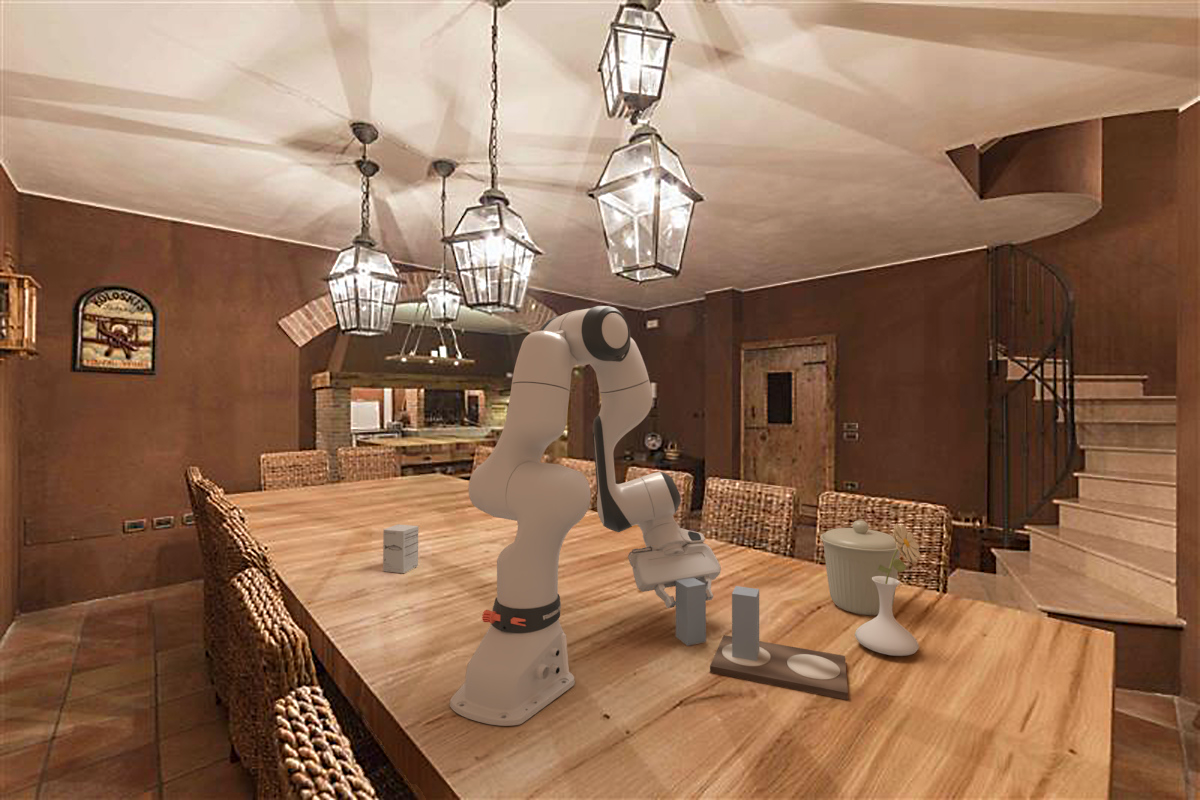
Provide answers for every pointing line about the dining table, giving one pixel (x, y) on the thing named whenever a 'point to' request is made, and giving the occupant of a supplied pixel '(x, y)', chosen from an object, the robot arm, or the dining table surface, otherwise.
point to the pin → (745, 623)
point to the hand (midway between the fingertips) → (690, 602)
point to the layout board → (786, 668)
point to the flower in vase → (890, 605)
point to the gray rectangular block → (691, 611)
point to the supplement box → (400, 548)
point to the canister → (857, 566)
